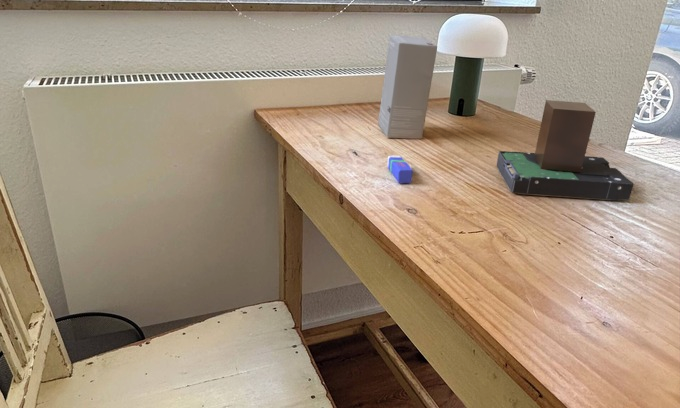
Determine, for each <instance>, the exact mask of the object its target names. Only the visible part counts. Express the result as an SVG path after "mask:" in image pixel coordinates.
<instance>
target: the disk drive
mask: <svg viewBox="0 0 680 408" xmlns="http://www.w3.org/2000/svg"><path fill="white" fill-rule="evenodd" d="M534 155H535V152H525V151H505V150H499V151H498V154H497V161H496V167H497V170H498V172H499V175H500V176H501V177H502V180H503V181H504V182H505V184H506V186H507V188H508V190H509V191H510V192H511V193H515V194H518V195H529V196H530V195H531V196H541V197H557V198H558V197H562V198H574V199H589V200H601V201H602V200H603V201H630V198H631V195H632V192H633V188H634V185H635V184H634V182H632V181H631V180H630V179H629V178H628V177H627V176H625V175H624V174H623V173H622V172H621V171H620V170H618V169H617V168H616V167H611V166H610V162H609V161H608V160H607V159H606V158H605V157H602V156H601V157H600V156H588V155H585V157H584V161H583V165H582V169H581V172H569V171H558V170H547V169H541V168H540V166H539V165H538V163H537V161H536V159H535V157H534Z"/></svg>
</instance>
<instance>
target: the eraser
mask: <svg viewBox="0 0 680 408" xmlns="http://www.w3.org/2000/svg"><path fill="white" fill-rule="evenodd" d="M386 167H387V169H388V171H389V172H390V173H391V174H392V175H393V176H394V178H395V180H396V181H397V183H398V184H411V183H412V181H413V173H414V172H413V169H412V168H411V167H410V165H409V164H408V163H407V161H405V159H403V157H402V156H401V155H399V154H398V155H388V156H387V165H386Z"/></svg>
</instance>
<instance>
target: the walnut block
mask: <svg viewBox="0 0 680 408" xmlns="http://www.w3.org/2000/svg"><path fill="white" fill-rule="evenodd" d="M596 113H597V112H596V111H595V110H594V109H593V108H592V107H590V106H589V105H588V104H587V103H586V102H579V101H565V100H551V99H545V103H544V107H543V112H542V117H541V122H540V127H539V132H538V137H537V142H536V146H535V151H534V153H535V155H534V157H535V159H536V161H537V163H538V165H539V166H540V168H541V169H547V170H558V171H569V172H581V169H582V165H583V161H584V157H585V156H586V153H587V149H588V145H589V141H590V137H591V134H592V128H593V125H594V121H595V116H596Z"/></svg>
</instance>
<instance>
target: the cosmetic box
mask: <svg viewBox="0 0 680 408" xmlns="http://www.w3.org/2000/svg"><path fill="white" fill-rule="evenodd" d="M388 38H389V39H388V47H387V53H386V59H385V60H386V61H385V67H384V68H385V69H384V76H383V84H382V91H381V100H380V106H379V114H378V120H377V125H378V127H379V128H380V130H381V131H382V133H383V134H384V136H385V137H386V138H387V139H414V140H415V139H417V140H419V139H423V135H424V129H425V122H426V117H427V110H428V104H429V98H430V92H431V85H432V81H433V75H434V68H435V64H436V57H437V51H438V45H437V44H435V43H434V42H433V41H432V40H429V39H427V38H426V37H423V36H410V35H401V34H390V35H389V37H388Z"/></svg>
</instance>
